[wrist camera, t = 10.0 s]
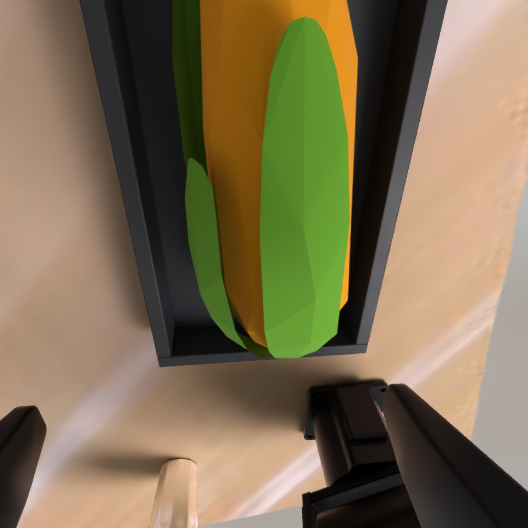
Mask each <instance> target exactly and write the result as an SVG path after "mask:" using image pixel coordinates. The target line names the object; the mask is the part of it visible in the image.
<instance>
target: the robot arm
mask: <svg viewBox="0 0 528 528" xmlns="http://www.w3.org/2000/svg"><path fill="white" fill-rule="evenodd" d="M382 412H383V414H384V417H383V414H382ZM384 418H385V419H384ZM46 431H47V428H46V424H45V422H44V420H43V418H42V416H41V414H40V412H39V410H38V408H37V407H36V406H19V407H16V408H15V409H13V410H12V411H11V412H10V413H8V414H7V415H6V416H5V417H4V418H3V419H1V420H0V528H16V527H17V524H18V522H19V519H20V517H21V514H22V512H23V509H24V506H25V504H26V501H27V498H28V495H29V492H30V488H31V485H32V481H33V478H34V474H35V471H36V468H37V464H38V461H39V457H40V454H41V450H42V447H43V443H44V440H45V436H46ZM303 434H304V439H306V440H315V439H316V443H317V448H318V452H319V456H320V460H321V465H322V469H323V473H324V477H325V482H326V486H327V487H326V488H323V489H320V490H317V491H314V492H307V493H304V494H302V500H303V507H302V519H303V528H528V491H527V490H526V489H525V488H523V487H522V486H521V485H520V484H519V483H518V482H517V481H515V480H514V479H513V478H512V477H511V476H510V475H509V474H507V473H506V472H505V471H504V470H503V469H502V468H501V467H499V466H498V465H497V464H496V463H495V462H494V461H493V460H491V459H490V458H489V457H488V456H487V455H486V454H485V453H483V452H482V451H481V450H480V449H479V448H478V447H477V446H475V445H474V444H473V443H472V442H471V441H470V440H469V439H468V438H466V437H465V436H464V435H463V434H462V433H461V432H460V431H458V430H457V429H456V428H455V427H454V426H453V425H452V424H450V423H449V422H448V421H447V420H446V419H445V418H444V417H442V416H441V415H440V414H439V413H438V412H437V411H436V410H434V409H433V408H432V407H431V406H430V405H429V404H428V403H426V402H425V401H424V400H423V399H422V398H421V397H420V396H418V395H417V394H416V393H415V392H414V391H413V390H412V389H410V388H409V387H408V386H407V385H405V384H390V385H389V386H388V385H387V383H386V382H376V383H362V384H349V385H336V386H323V387H313V388H311V389H309V391H308V396H307V405H306V413H305V422H304V430H303Z"/></svg>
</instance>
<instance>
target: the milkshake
mask: <svg viewBox="0 0 528 528" xmlns="http://www.w3.org/2000/svg"><path fill="white" fill-rule="evenodd" d="M148 528H198V519H197V464H195V463H194V462H192V461H191V460H187V459H180V458H179V459H174V460H170V461H168V462H166V463H165V464H164V465H163V466H162V468H161V472H160V476H159V481H158V485H157V490H156V494H155V499H154V503H153V508H152V512H151V517H150V521H149V526H148Z"/></svg>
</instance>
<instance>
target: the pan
mask: <svg viewBox="0 0 528 528" xmlns="http://www.w3.org/2000/svg"><path fill="white" fill-rule="evenodd" d="M447 1H448V0H347V4H348V10H349V15H350V20H351V25H352V31H353V36H354V41H355V46H356V51H357V57H358V67H357V91H356V114H355V138H354V162H353V186H352V210H351V234H350V258H349V281H348V300H347V302H346V303H345V304H344V306H343V307H342V308H341V309H340V311H339V319H338V328H337V334H336V335H335V336H334V337H332V338H331V339H330V340H329V341H328V342H326V343H325V344H324V345H323V346H322V347H320V348H319V349H318V350H317V351H315V352H312V353H309V354H307V355H304V356H301V357H314V356H328V355H343V354H357V353H366V350H367V345H368V341H369V337H370V333H371V328H372V324H373V320H374V315H375V311H376V307H377V303H378V298H379V294H380V290H381V285H382V281H383V277H384V272H385V268H386V264H387V259H388V255H389V251H390V247H391V242H392V238H393V234H394V229H395V225H396V221H397V216H398V212H399V208H400V203H401V199H402V195H403V191H404V186H405V182H406V178H407V173H408V169H409V165H410V160H411V156H412V152H413V147H414V143H415V139H416V135H417V130H418V126H419V122H420V117H421V113H422V109H423V104H424V100H425V96H426V91H427V87H428V83H429V78H430V74H431V70H432V66H433V61H434V57H435V53H436V48H437V44H438V40H439V35H440V31H441V27H442V22H443V18H444V14H445V10H446V5H447ZM80 5H81V10H82V14H83V19H84V23H85V28H86V32H87V37H88V42H89V46H90V51H91V55H92V60H93V64H94V69H95V74H96V78H97V83H98V87H99V92H100V97H101V101H102V106H103V110H104V115H105V119H106V124H107V129H108V133H109V138H110V142H111V147H112V152H113V156H114V161H115V165H116V170H117V174H118V179H119V184H120V188H121V193H122V197H123V202H124V206H125V211H126V216H127V220H128V225H129V229H130V234H131V239H132V243H133V248H134V252H135V257H136V261H137V266H138V271H139V275H140V280H141V284H142V289H143V294H144V298H145V303H146V307H147V312H148V316H149V321H150V326H151V330H152V335H153V339H154V344H155V348H156V353H157V357H158V362H159V366H160V367H168V366H183V365H197V364H212V363H226V362H241V361H255V360H270V359H285V358H275V357H274V356H273V355H270V356H267V357H263V358H259V357H258V356H256V355H255V354H253V353H252V352H250V351H248V350H247V349H245V348H244V347H242V346H241V345H239V344H237V343H236V342H234V341H233V340H231V339H230V338H228V337H227V336H226V335H225V334H224V332H223V331H222V330H221V329H220V328H219V326H218V325H217V324H216V323H215V321H214V320H213V319H212V318H211V316H210V314H209V312H208V310H207V307H206V305H205V303H204V301H203V299H202V297H201V294H200V291H199V286H198V282H197V278H196V273H195V269H194V265H193V261H192V256H191V252H190V248H189V241H188V229H187V218H186V206H185V191H186V180H187V170H186V165H185V160H184V152H183V144H182V136H181V128H180V119H179V111H178V103H177V95H176V86H175V78H174V70H173V62H172V0H80ZM230 311H231V310H230ZM231 315H232V319H233V323H234V327H235V331H237V332H238V333H239V334H241V335H244V336H246V337H249V338H251V337H250V335H249V334H248V333H247V332H246V330H245V329H244V328H243V327H242V325H241V324H240V323H239V321H238V320H237V319H236V318H235V316H234V315H233V313H232V312H231ZM251 339H252V338H251ZM298 358H299V357H298Z"/></svg>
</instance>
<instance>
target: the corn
mask: <svg viewBox="0 0 528 528" xmlns="http://www.w3.org/2000/svg"><path fill="white" fill-rule="evenodd" d="M172 62H173V70H174V78H175V86H176V95H177V103H178V111H179V119H180V128H181V136H182V144H183V152H184V160H185V165H186V170H187V180H186V191H185V206H186V218H187V229H188V241H189V248H190V252H191V256H192V261H193V265H194V269H195V273H196V278H197V282H198V286H199V291H200V294H201V297H202V299H203V301H204V303H205V305H206V307H207V310H208V312H209V314H210V316H211V318H212V319H213V320H214V321H215V323H216V324H217V325H218V326H219V328H220V329H221V330H222V331H223V332H224V334H225V335H226V336H227V337H228V338H230V339H231V340H233V341H234V342H236V343H237V344H239V345H241V346H242V347H244V348H245V349H247V350H248V351H250V352H252V353H253V354H255V355H256V356H258V357H259V358H263V357H267V356H270V355H273V356H274V357H275V358H298V357H301V356H304V355H307V354H309V353H312V352H315V351H317V350H318V349H319V348H320V347H322V346H323V345H324V344H325V343H326V342H328V341H329V340H330V339H331V338H332V337H334V336H335V335H336V334H337V328H338V319H339V311H340V309H341V308H342V307H343V306H344V304H345V303H346V302H347V300H348V281H349V258H350V234H351V210H352V186H353V162H354V138H355V114H356V91H357V67H358V57H357V51H356V46H355V41H354V36H353V31H352V25H351V20H350V15H349V10H348V4H347V0H172ZM230 310H231V311H230ZM231 312H232V313H233V315H234V316H235V318H236V319H237V320H238V321H239V323H240V324H241V325H242V327H243V328H244V329H245V330H246V332H247V333H248V334H249V335H250V337H251V338H252V339H251V338H249V337H246V336H244V335H241V334H239V333H238V332H237V331H235V327H234V323H233V319H232V315H231Z"/></svg>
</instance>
